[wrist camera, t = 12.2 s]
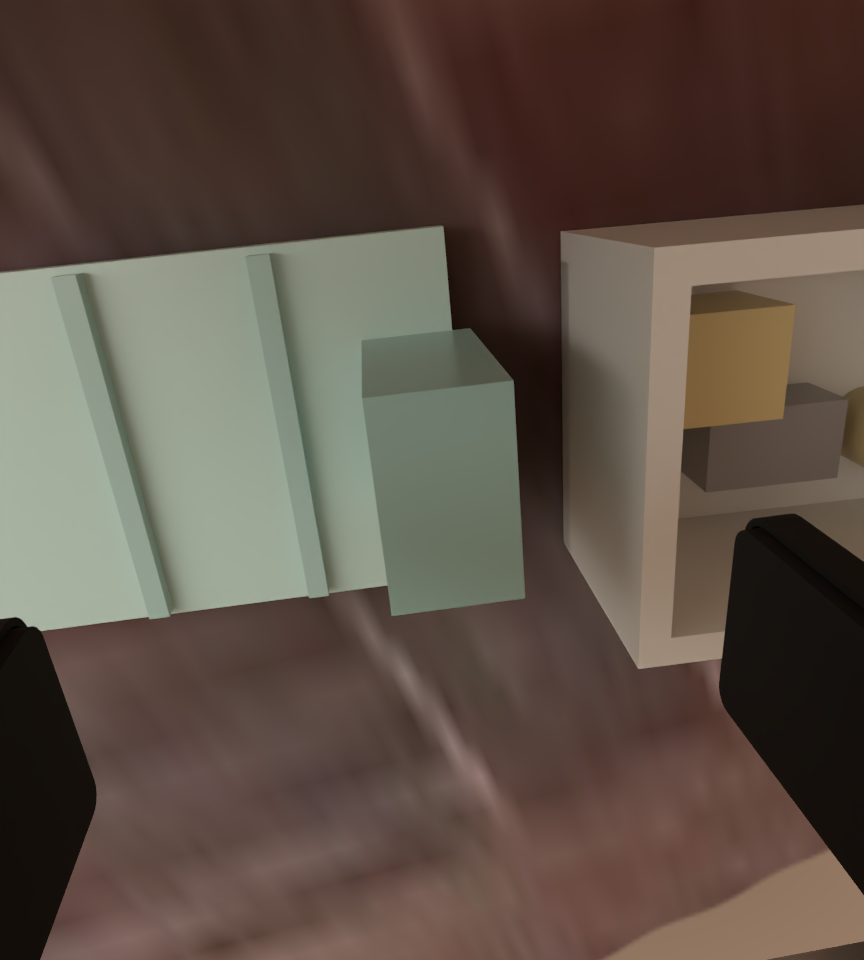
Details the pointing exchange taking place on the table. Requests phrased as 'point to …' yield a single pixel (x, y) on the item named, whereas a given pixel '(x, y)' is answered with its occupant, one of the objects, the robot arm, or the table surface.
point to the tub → (706, 407)
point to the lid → (251, 434)
